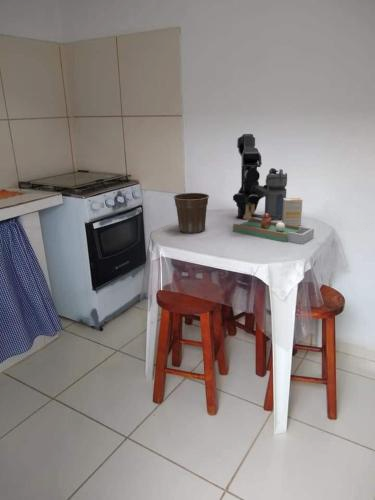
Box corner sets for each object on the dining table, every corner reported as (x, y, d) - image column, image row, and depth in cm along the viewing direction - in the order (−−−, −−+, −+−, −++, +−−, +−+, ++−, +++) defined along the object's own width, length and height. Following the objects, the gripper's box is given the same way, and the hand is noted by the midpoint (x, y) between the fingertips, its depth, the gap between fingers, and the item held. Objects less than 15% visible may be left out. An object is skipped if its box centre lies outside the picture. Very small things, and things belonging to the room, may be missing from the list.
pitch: (232, 231, 181) (233, 223, 179) (249, 224, 191) (249, 216, 189) (300, 245, 161) (301, 235, 159) (314, 236, 171) (315, 227, 169)
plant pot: (173, 225, 192) (172, 193, 186) (206, 224, 193) (206, 191, 188) (175, 235, 177) (174, 200, 171) (211, 234, 178) (211, 198, 172)
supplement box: (299, 224, 189) (301, 197, 185) (300, 227, 185) (302, 199, 181) (281, 224, 190) (283, 197, 186) (282, 227, 186) (284, 199, 181)
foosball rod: (242, 224, 182) (242, 204, 179) (247, 222, 186) (248, 202, 182) (265, 228, 175) (266, 208, 171) (270, 226, 178) (271, 205, 175)
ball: (273, 231, 173) (274, 222, 171) (278, 229, 176) (278, 220, 174) (282, 232, 170) (282, 224, 169) (286, 230, 173) (286, 222, 172)
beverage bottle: (277, 213, 210) (280, 165, 201) (288, 219, 197) (292, 169, 189) (259, 214, 208) (261, 166, 199) (269, 221, 196) (272, 170, 187)
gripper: (254, 184, 164) (253, 220, 169) (276, 177, 177) (274, 211, 183) (232, 181, 171) (232, 216, 176) (255, 175, 184) (253, 208, 189)
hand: (249, 213), depth 181 cm, fingers open, 9 cm apart
